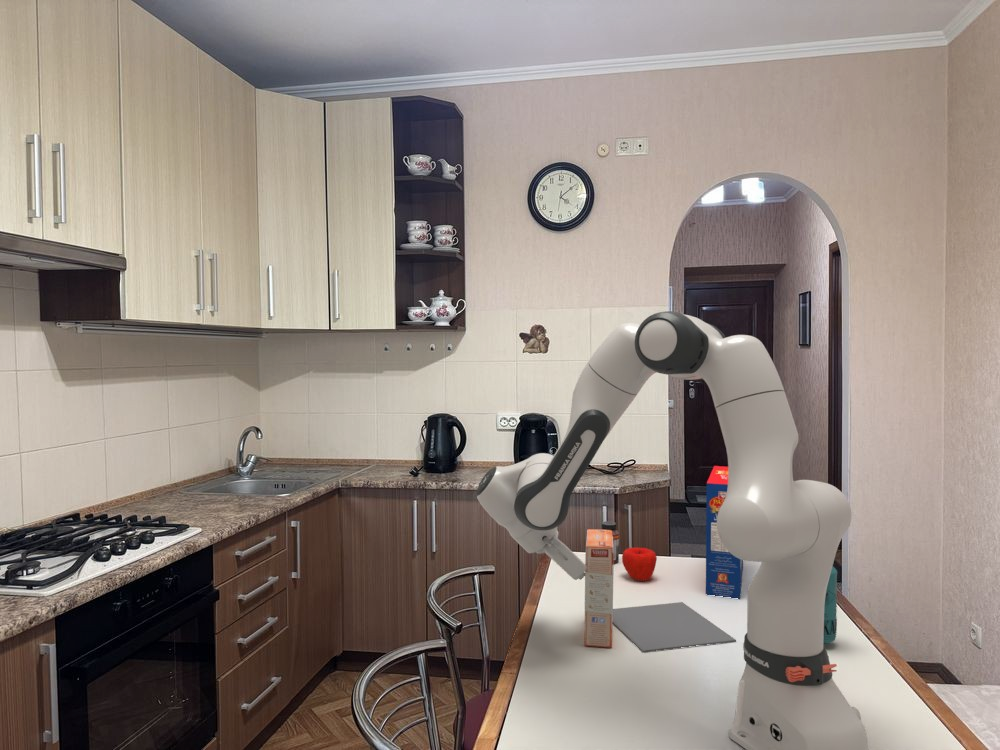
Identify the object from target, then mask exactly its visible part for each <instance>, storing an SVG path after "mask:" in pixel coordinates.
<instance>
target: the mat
mask: <svg viewBox="0 0 1000 750" xmlns="http://www.w3.org/2000/svg"><path fill="white" fill-rule="evenodd" d="M612 626H614V627H615V628H616V629H617V630H618V631H620V633H621V634H623V635H624V637H626V638H627V639H628V640H629V641H630V643H632V644H633V643H634V644H635V645H636V646H637V647H638V648H639V649H638V648H637V647H636V646H635V645H634V644H633V645H634V646H635V647H636V648H637V649H638V650H639V651H640V652H641V653H643V652H644V653H649V652H648V651H653V652H657V651H656V650H661V651H665V650H664V649H670V650H674V649H673V648H678V649H682V648H681V647H687V648H690V647H689V646H695V647H697V646H696V645H704V646H708V645H707V644H713V645H717V644H716V643H721V644H727V642H730V643H736V642H737V639H736V638H734V637H733V636H731V635H730V634H729V633H727V632H725V631H724V630H723V629H721V628H720V627H718V626H717V625H715V624H714V623H713V622H711V621H710V620H709V619H708V618H706V617H704V616H703V615H701V614H700V613H698V612H697V610H694V609H693V608H692V607H690V606H689V605H687V604H686V603H684V602H682V601H679V602H670V603H659V604H658V603H657V604H651V605H639V606H638V605H637V606H629V607H627V606H626V607H619V608H613V622H612Z"/></svg>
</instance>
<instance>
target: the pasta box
mask: <svg viewBox="0 0 1000 750" xmlns="http://www.w3.org/2000/svg"><path fill="white" fill-rule="evenodd" d="M727 488H728V466H723V465H722V466H719V465H713V468H712V470H711V472H710V475H709V477H708V479H707V481H706V502H705V503H706V517H705V519H706V522H705V525H706V526H705V528H706V530H705V533H706V534H705V543H706V544H705V595H706V594H707V595H706V596H708V595H715V596H714V597H716V596H723V597H722V598H724V597H731V598H730V599H732V598H738V599H737V600H741V595H740V594H742V582H743V574H744V573H743V571H744V560H741V559H739V558H737V557H735V556H734V555H732V554H731V553H730V552H729V551H728V550H727V549H726V548H725V546H724V545H723V543H722V542H721V540H720V537H719V534H718V530H717V515H718V512H719V510H720V508H721V506H722V504H723V502H724V500H725V497H726V494H727Z"/></svg>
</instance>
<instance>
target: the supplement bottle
mask: <svg viewBox="0 0 1000 750" xmlns="http://www.w3.org/2000/svg"><path fill="white" fill-rule="evenodd" d="M599 530H611V531H612V534H613V547H614V564H617V563H619V561H620V560H619V558H620V557H619V555H620V554H619V553H620V532H619V530H617V526H616V522H614V521H608V520H607V521H602V523H601V528H600V529H599Z"/></svg>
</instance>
